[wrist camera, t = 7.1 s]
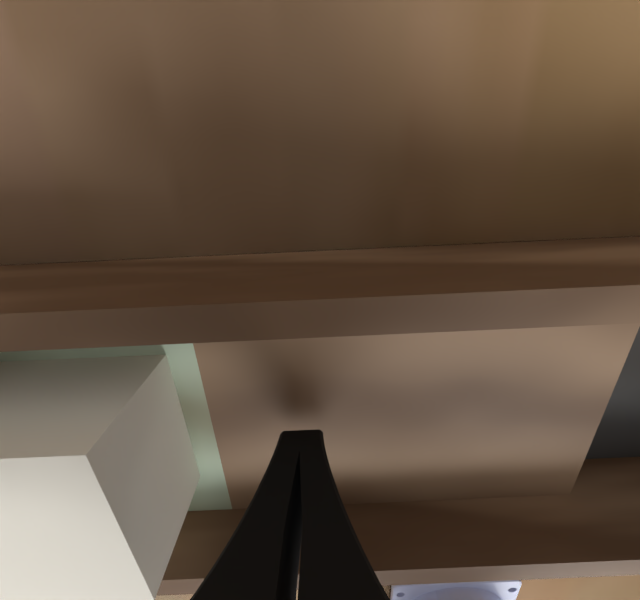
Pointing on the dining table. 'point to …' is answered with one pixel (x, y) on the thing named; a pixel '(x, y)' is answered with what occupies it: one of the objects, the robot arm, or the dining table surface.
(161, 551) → the cream block
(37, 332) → the trap box
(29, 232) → the dining table surface
